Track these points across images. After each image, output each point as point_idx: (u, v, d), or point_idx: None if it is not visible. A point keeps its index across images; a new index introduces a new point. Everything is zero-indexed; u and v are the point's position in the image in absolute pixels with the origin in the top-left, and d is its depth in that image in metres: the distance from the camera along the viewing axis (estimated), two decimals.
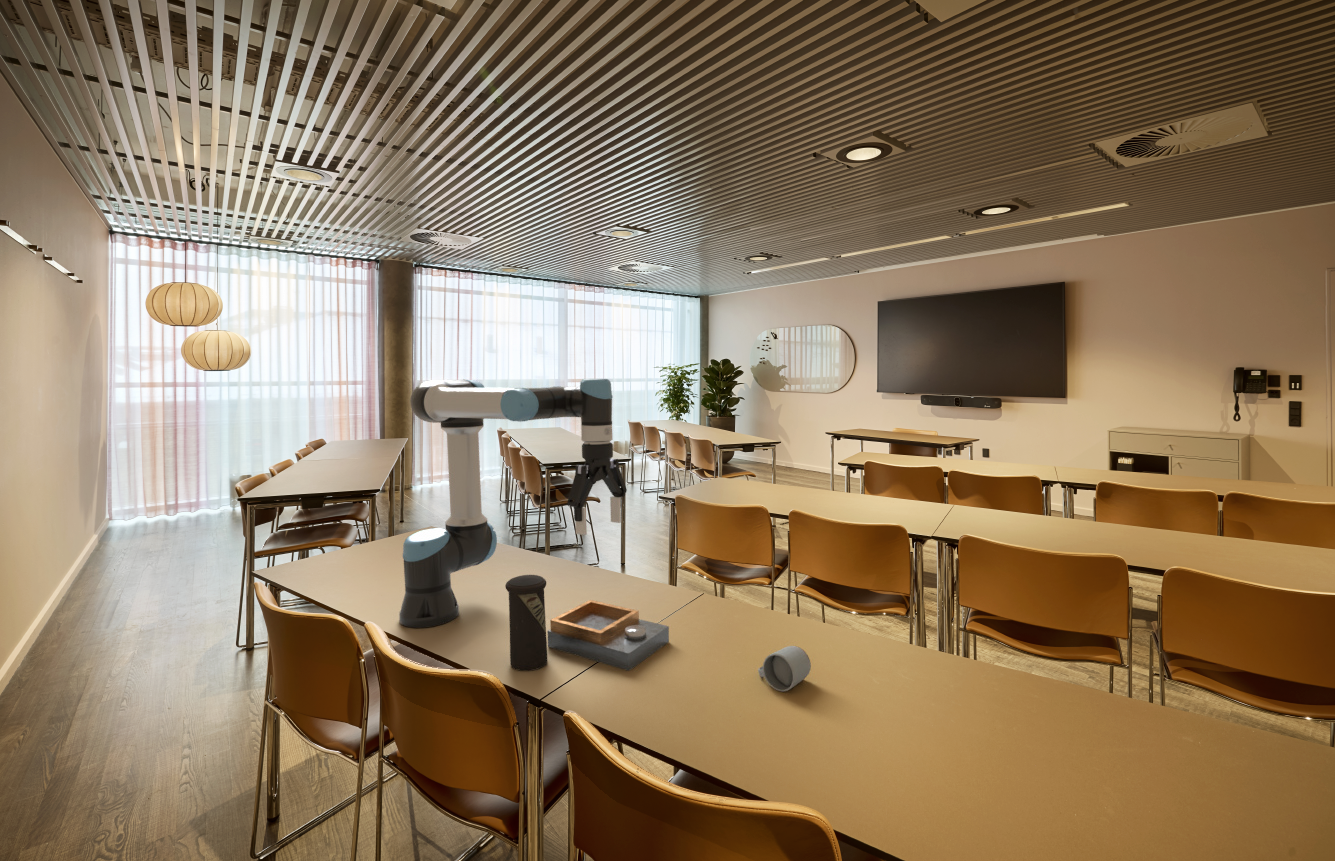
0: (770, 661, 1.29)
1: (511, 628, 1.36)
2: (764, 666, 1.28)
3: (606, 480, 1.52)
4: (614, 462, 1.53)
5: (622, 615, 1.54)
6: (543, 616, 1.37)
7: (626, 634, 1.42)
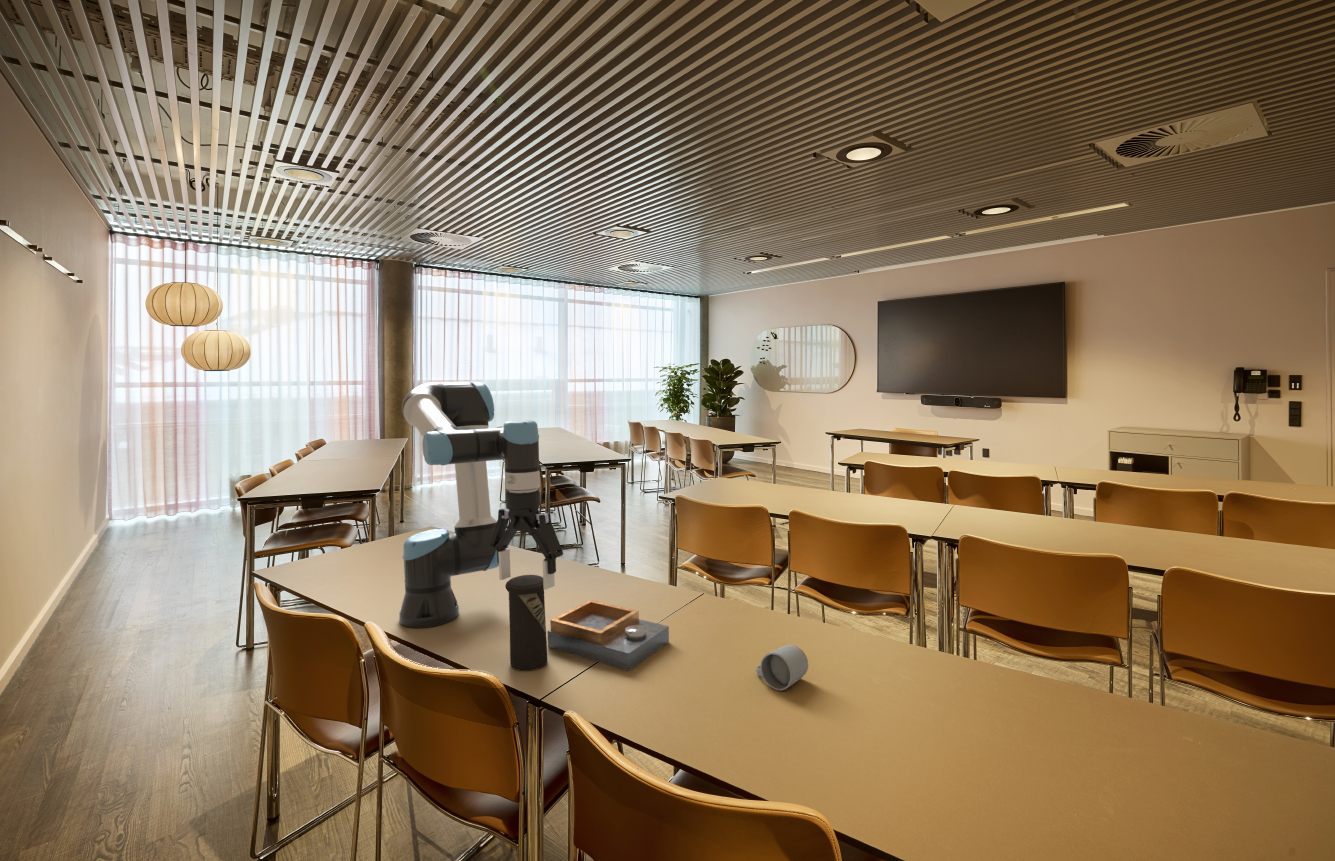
0: (768, 660, 1.30)
1: (511, 628, 1.36)
2: (762, 665, 1.28)
3: None
4: None
5: (622, 615, 1.54)
6: (543, 616, 1.37)
7: (626, 634, 1.42)
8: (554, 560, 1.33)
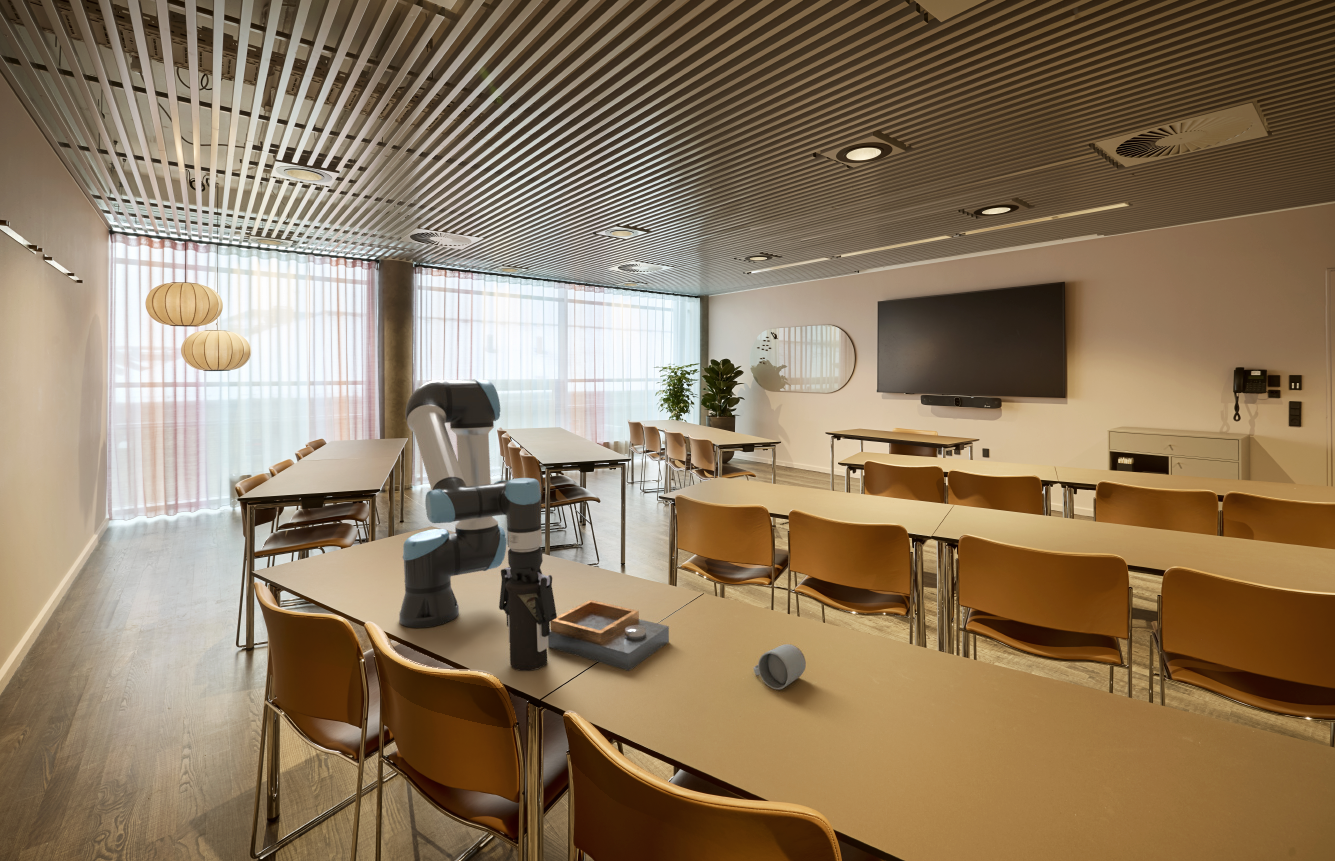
0: (765, 659, 1.30)
1: (511, 628, 1.36)
2: (759, 664, 1.29)
3: None
4: None
5: (622, 615, 1.54)
6: None
7: (626, 634, 1.42)
8: (548, 623, 1.35)
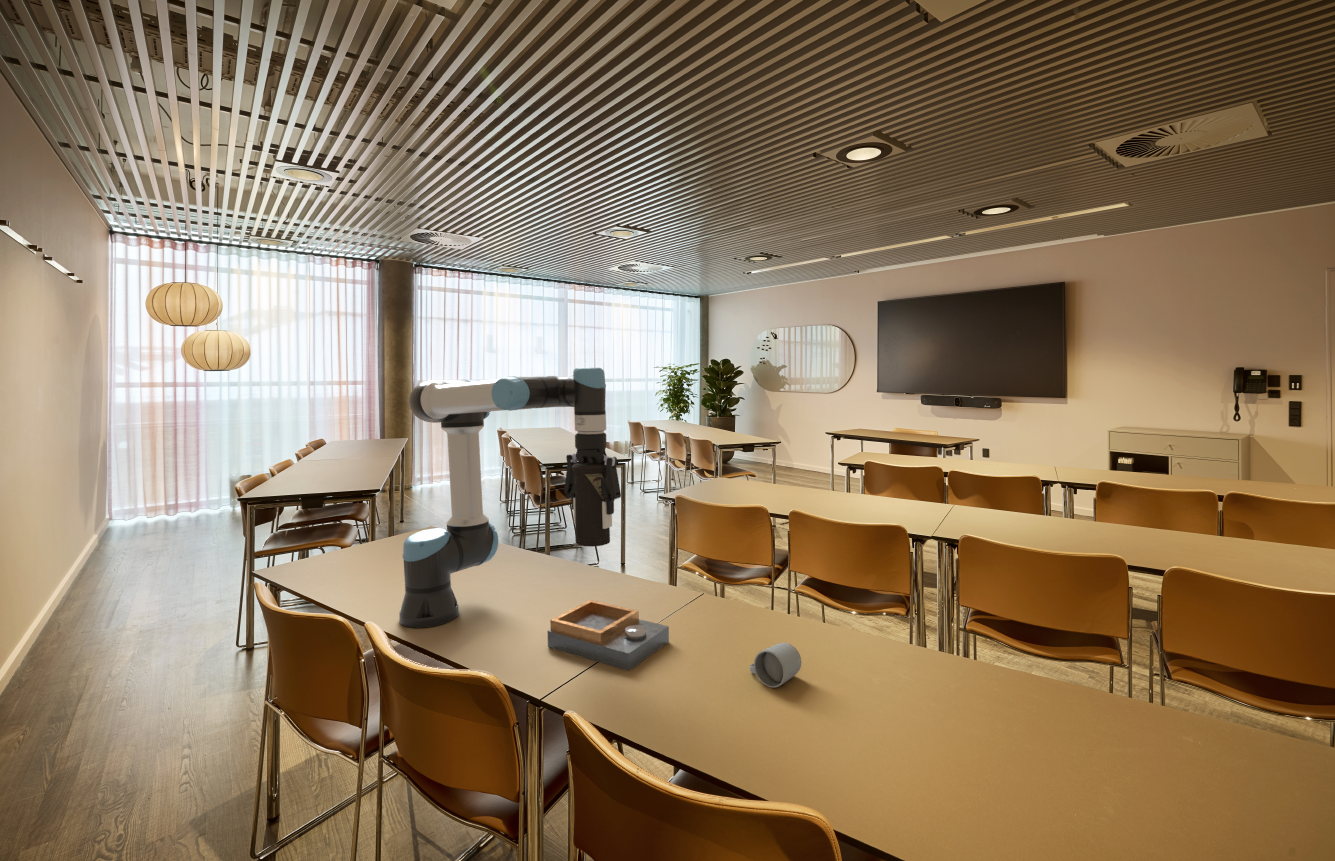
0: (761, 658, 1.31)
1: (577, 507, 1.45)
2: (755, 663, 1.29)
3: None
4: None
5: (622, 615, 1.54)
6: None
7: (626, 634, 1.42)
8: (612, 502, 1.44)
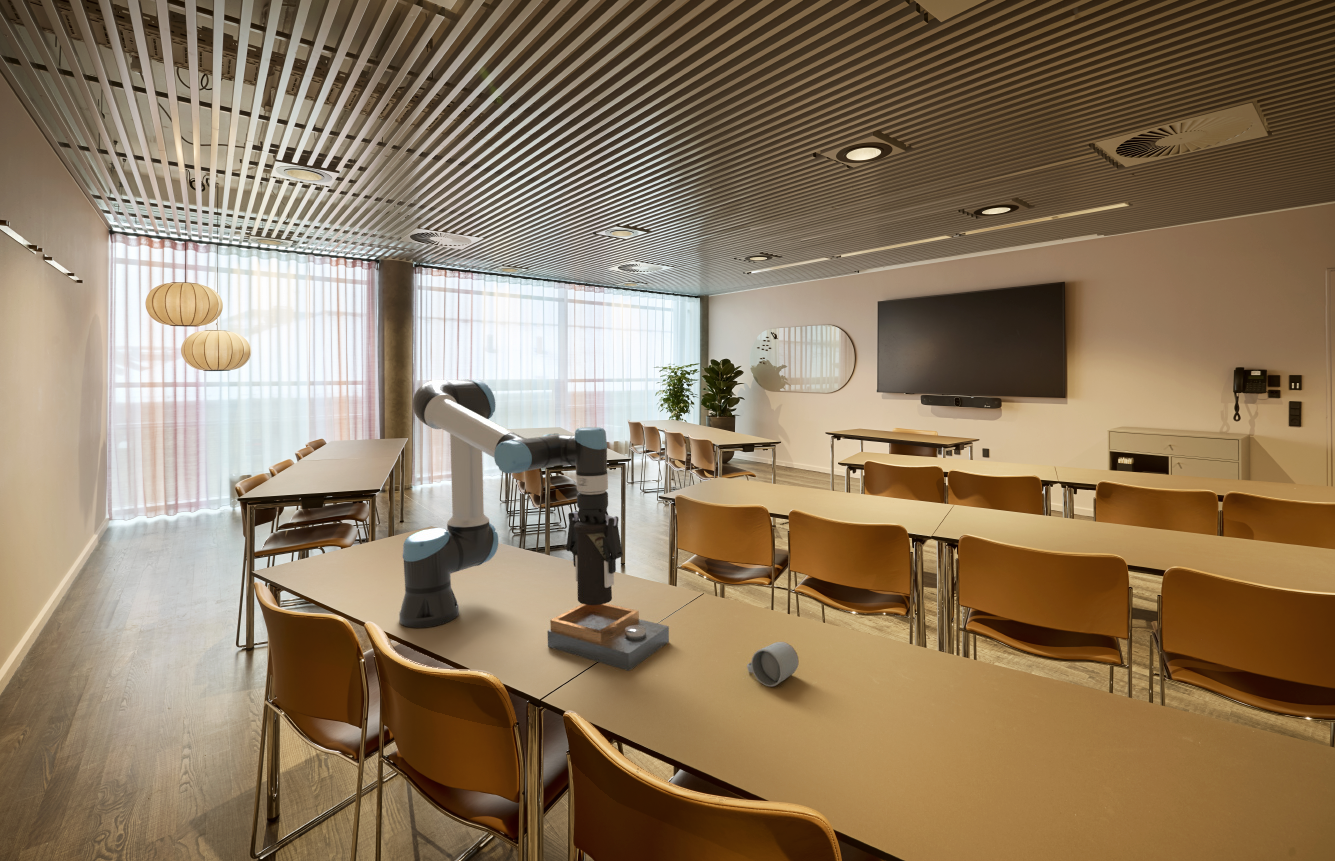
0: (759, 657, 1.31)
1: (579, 566, 1.46)
2: (752, 662, 1.30)
3: None
4: None
5: (622, 615, 1.54)
6: None
7: (626, 634, 1.42)
8: (614, 561, 1.46)
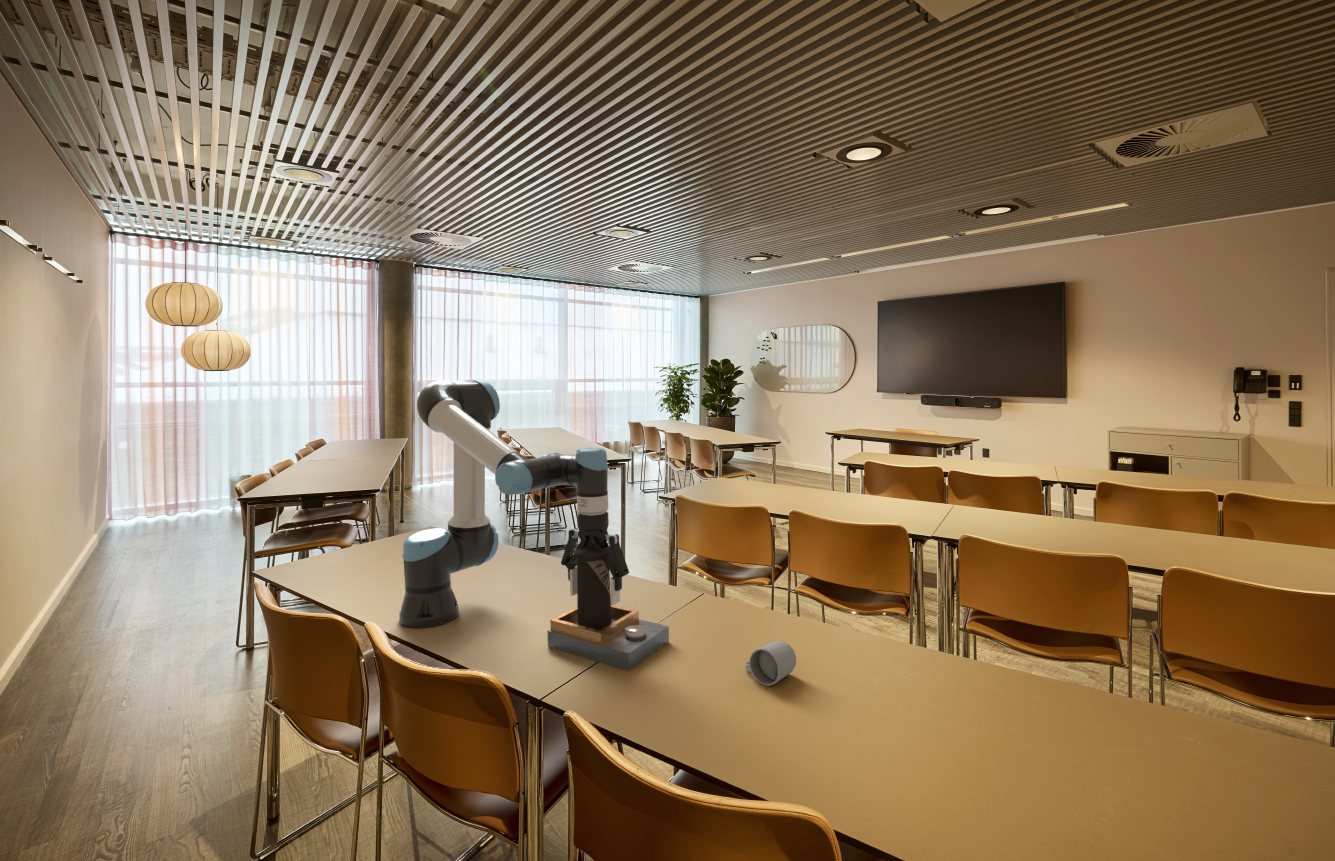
0: (756, 656, 1.32)
1: (579, 592, 1.47)
2: (750, 661, 1.30)
3: None
4: None
5: (622, 615, 1.54)
6: (608, 581, 1.48)
7: (626, 634, 1.42)
8: (620, 578, 1.45)
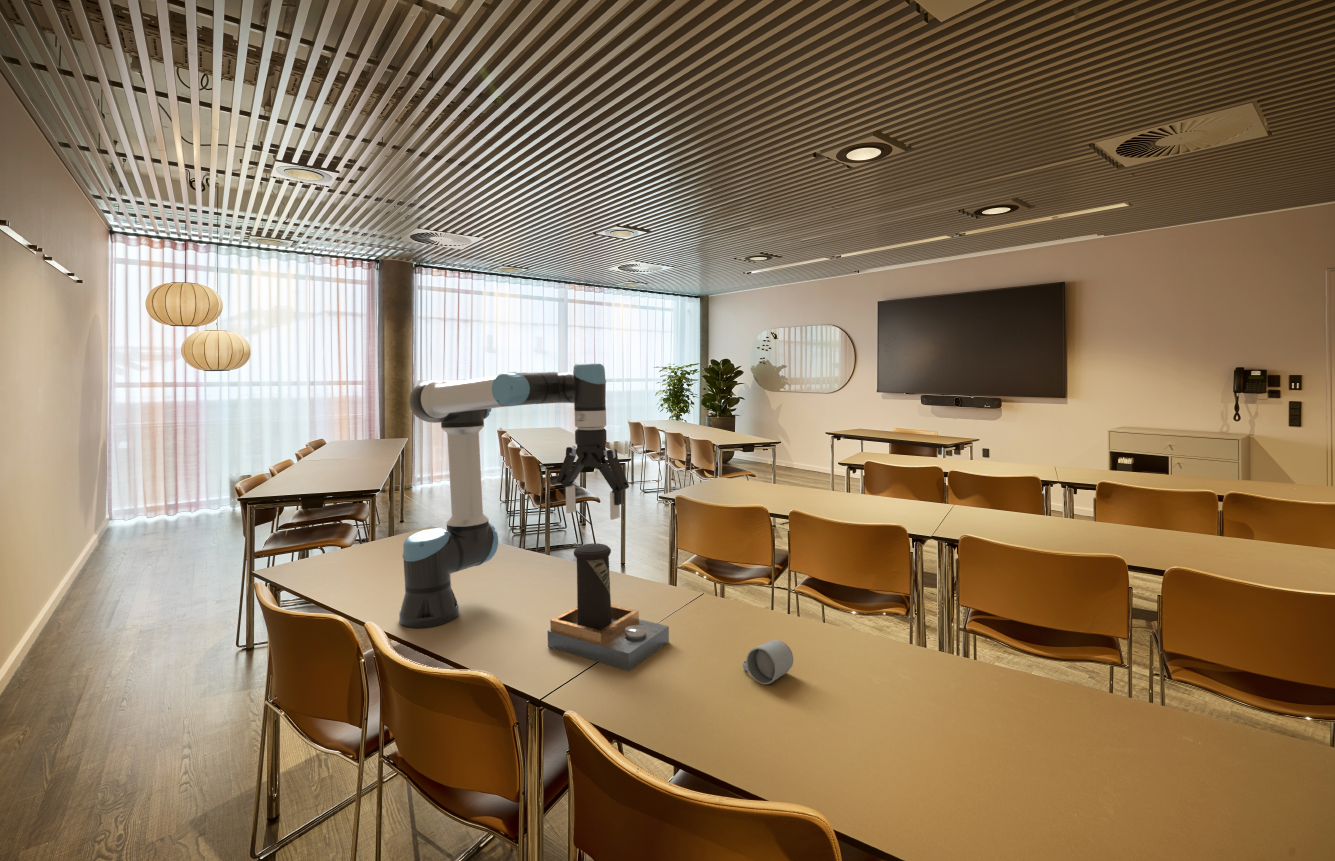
0: (754, 655, 1.32)
1: (579, 592, 1.47)
2: (747, 660, 1.31)
3: None
4: None
5: (622, 615, 1.54)
6: (608, 581, 1.48)
7: (626, 634, 1.42)
8: (620, 492, 1.43)
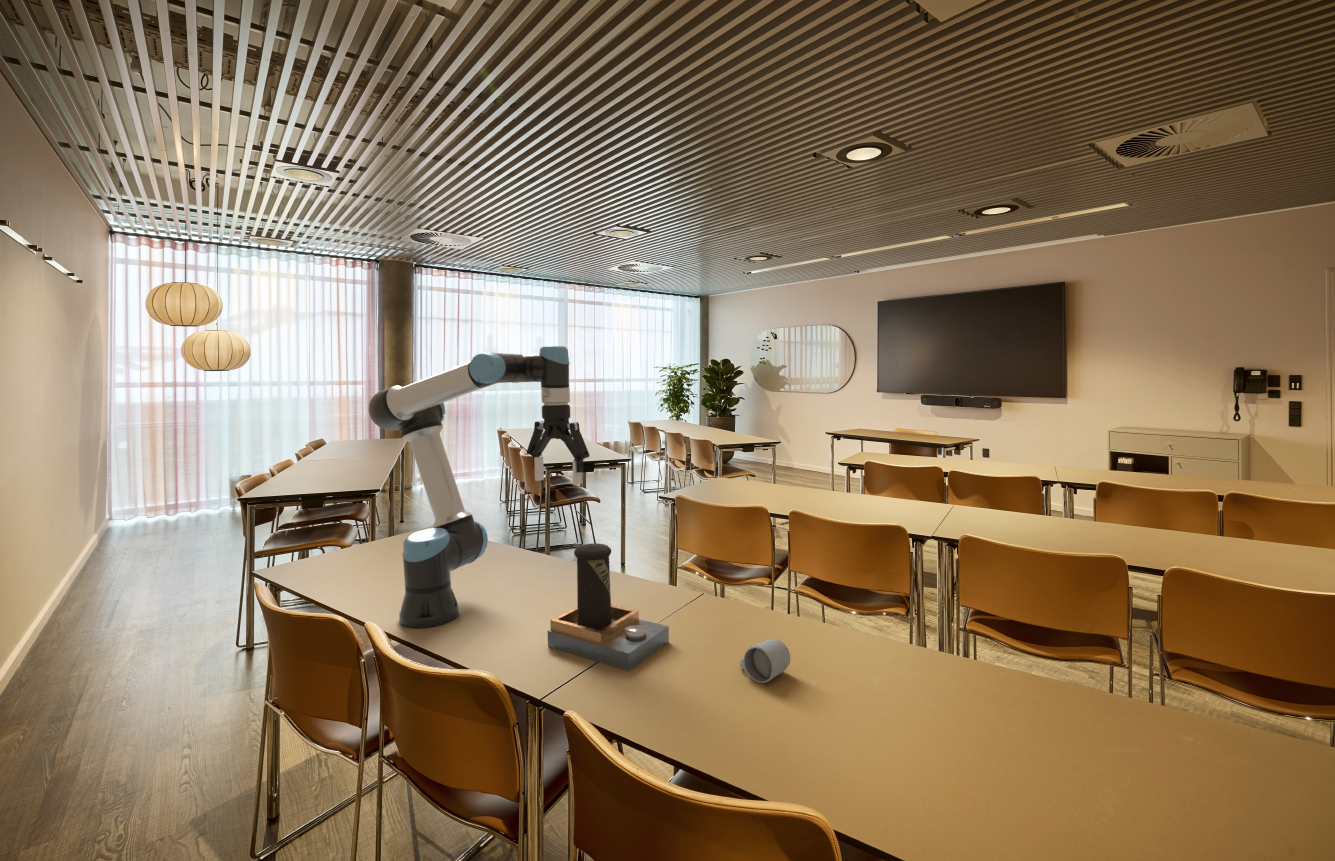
0: (751, 654, 1.33)
1: (579, 592, 1.47)
2: (745, 659, 1.31)
3: None
4: None
5: (622, 615, 1.54)
6: (609, 581, 1.48)
7: (626, 634, 1.42)
8: (582, 461, 1.60)
